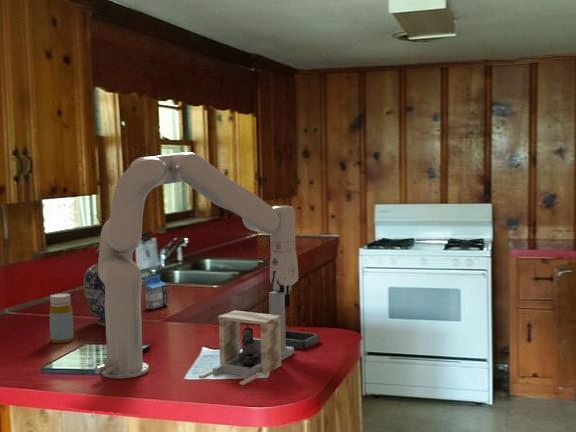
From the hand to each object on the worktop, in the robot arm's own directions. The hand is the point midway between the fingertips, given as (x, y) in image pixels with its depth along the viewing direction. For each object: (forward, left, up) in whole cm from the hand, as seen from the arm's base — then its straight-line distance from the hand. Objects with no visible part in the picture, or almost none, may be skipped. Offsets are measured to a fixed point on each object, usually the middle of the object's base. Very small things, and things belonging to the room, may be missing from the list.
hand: (284, 306), depth 207 cm
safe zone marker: (-29, 0, -13) cm, 32 cm away
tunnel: (-19, 0, -13) cm, 23 cm away
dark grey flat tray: (+7, 0, -13) cm, 15 cm away
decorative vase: (+3, +73, -13) cm, 74 cm away
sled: (-16, 0, -13) cm, 21 cm away
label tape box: (+31, +76, -13) cm, 83 cm away
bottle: (-23, +70, -13) cm, 75 cm away
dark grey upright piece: (-20, 0, -13) cm, 24 cm away
